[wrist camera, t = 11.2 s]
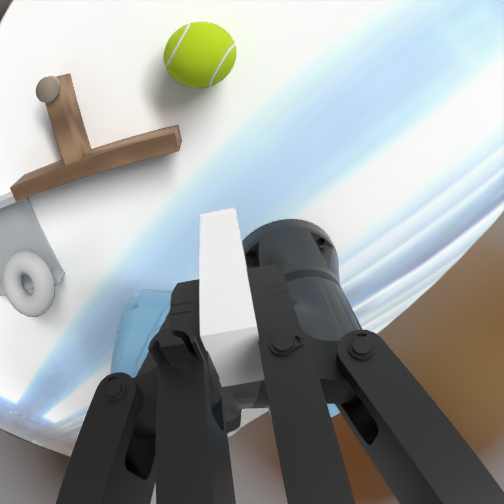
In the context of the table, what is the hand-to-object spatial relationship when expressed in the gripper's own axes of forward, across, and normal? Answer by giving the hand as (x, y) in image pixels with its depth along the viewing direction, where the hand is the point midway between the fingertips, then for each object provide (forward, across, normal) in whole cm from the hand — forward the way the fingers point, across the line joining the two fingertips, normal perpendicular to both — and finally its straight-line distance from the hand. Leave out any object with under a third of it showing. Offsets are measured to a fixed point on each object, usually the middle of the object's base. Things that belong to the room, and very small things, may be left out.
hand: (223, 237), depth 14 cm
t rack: (+24, +15, -5) cm, 29 cm away
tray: (+24, +34, +8) cm, 43 cm away
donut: (+23, +29, +10) cm, 38 cm away
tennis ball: (+25, 0, -8) cm, 26 cm away
